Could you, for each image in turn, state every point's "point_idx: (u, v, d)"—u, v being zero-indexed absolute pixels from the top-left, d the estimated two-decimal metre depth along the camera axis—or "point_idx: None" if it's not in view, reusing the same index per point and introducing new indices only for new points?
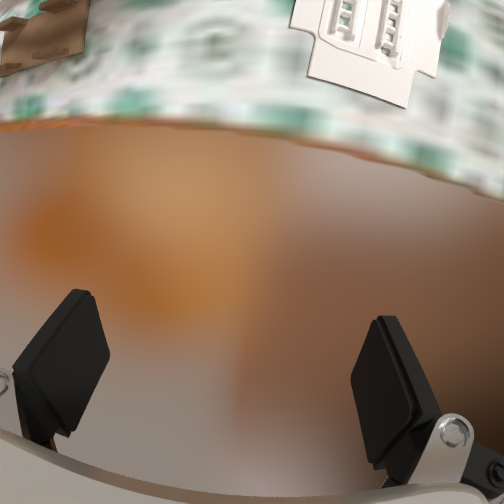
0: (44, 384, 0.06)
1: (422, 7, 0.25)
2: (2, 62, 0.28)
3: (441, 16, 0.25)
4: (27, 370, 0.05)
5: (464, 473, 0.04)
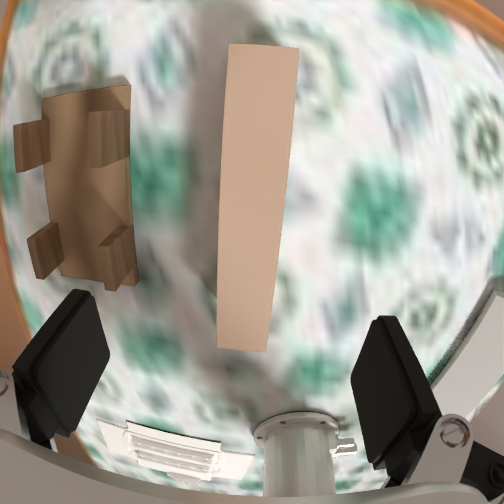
0: (44, 384, 0.06)
1: (185, 470, 0.48)
2: (63, 99, 0.20)
3: (186, 475, 0.50)
4: (27, 370, 0.05)
5: (464, 473, 0.04)
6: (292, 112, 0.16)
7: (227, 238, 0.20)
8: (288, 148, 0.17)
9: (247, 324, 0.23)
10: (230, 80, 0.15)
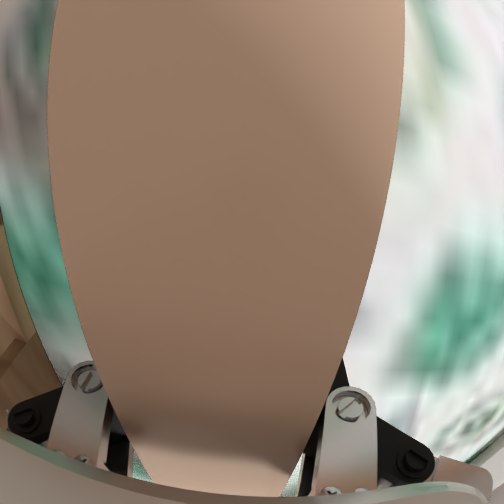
0: None
1: None
2: None
3: None
4: None
5: None
6: (391, 123, 0.03)
7: (162, 467, 0.06)
8: (352, 300, 0.04)
9: None
10: None
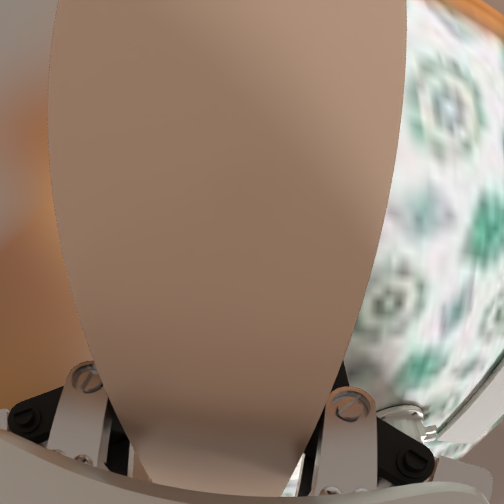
0: None
1: None
2: None
3: None
4: None
5: None
6: (394, 116, 0.03)
7: (162, 466, 0.06)
8: (355, 296, 0.04)
9: None
10: None
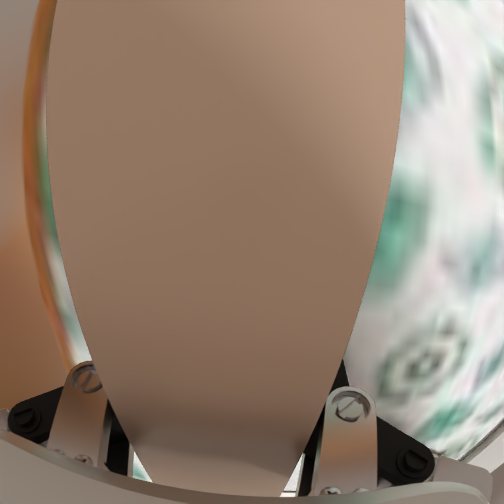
0: None
1: None
2: None
3: None
4: None
5: None
6: (392, 115, 0.03)
7: (161, 466, 0.06)
8: (354, 295, 0.04)
9: None
10: None
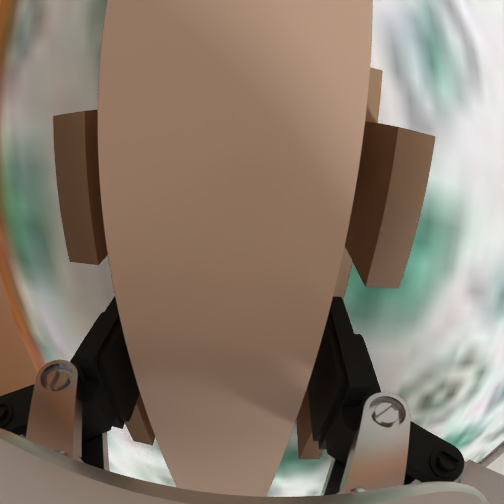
0: (109, 373, 0.07)
1: None
2: None
3: None
4: (94, 359, 0.06)
5: None
6: (359, 119, 0.04)
7: (171, 431, 0.08)
8: (335, 255, 0.05)
9: None
10: (118, 10, 0.03)
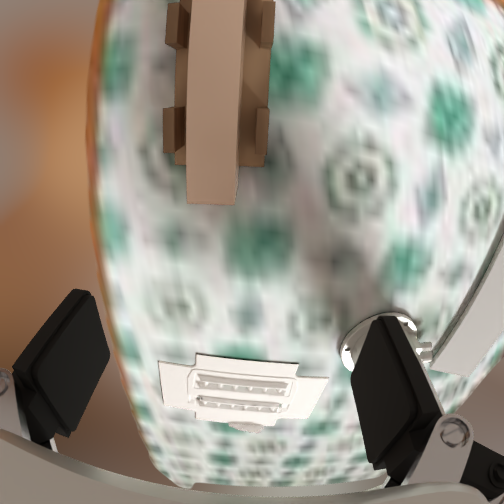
0: (44, 384, 0.06)
1: (249, 416, 0.52)
2: None
3: (248, 423, 0.54)
4: (27, 370, 0.05)
5: (464, 473, 0.04)
6: None
7: (194, 86, 0.21)
8: (241, 16, 0.18)
9: (215, 172, 0.24)
10: None
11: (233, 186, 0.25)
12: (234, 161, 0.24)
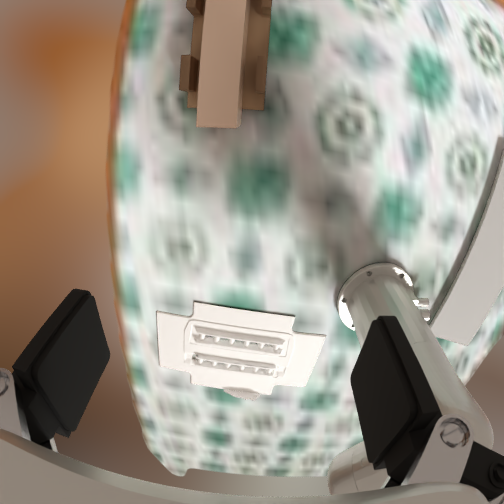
0: (44, 384, 0.06)
1: (245, 380, 0.54)
2: None
3: (244, 390, 0.55)
4: (27, 370, 0.05)
5: (464, 473, 0.04)
6: None
7: (208, 35, 0.24)
8: None
9: (221, 100, 0.27)
10: None
11: (236, 112, 0.28)
12: (237, 91, 0.27)
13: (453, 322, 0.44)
